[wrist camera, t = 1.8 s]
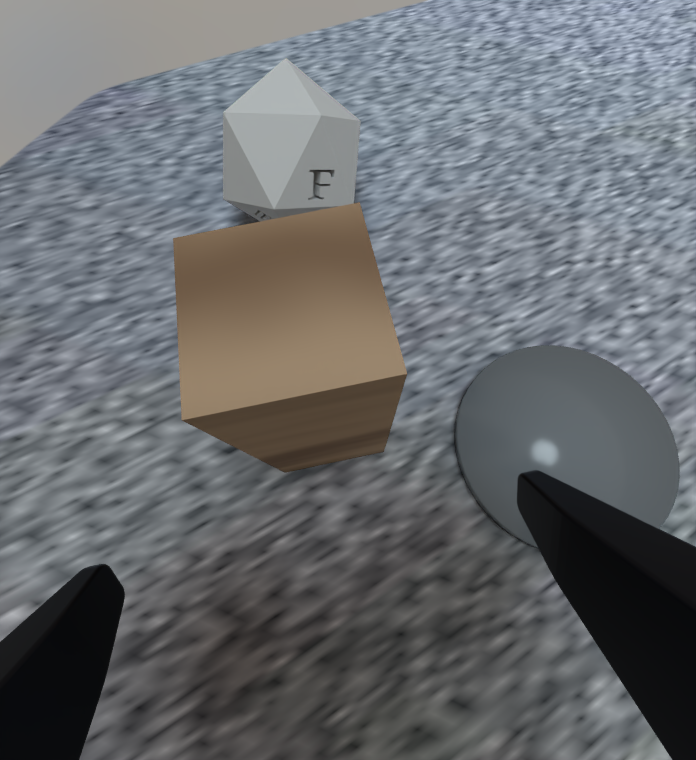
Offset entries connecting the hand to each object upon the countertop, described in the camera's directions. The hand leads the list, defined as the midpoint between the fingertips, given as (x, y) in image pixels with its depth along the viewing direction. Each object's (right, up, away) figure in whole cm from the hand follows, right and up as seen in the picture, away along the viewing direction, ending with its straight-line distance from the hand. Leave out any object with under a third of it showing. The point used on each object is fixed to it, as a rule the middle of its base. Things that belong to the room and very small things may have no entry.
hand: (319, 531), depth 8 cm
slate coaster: (+12, 0, +12) cm, 17 cm away
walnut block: (-1, +1, +13) cm, 13 cm away
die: (-3, +15, +18) cm, 24 cm away
